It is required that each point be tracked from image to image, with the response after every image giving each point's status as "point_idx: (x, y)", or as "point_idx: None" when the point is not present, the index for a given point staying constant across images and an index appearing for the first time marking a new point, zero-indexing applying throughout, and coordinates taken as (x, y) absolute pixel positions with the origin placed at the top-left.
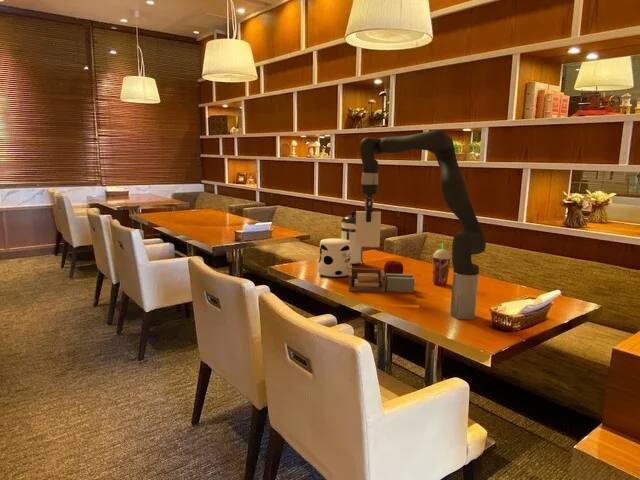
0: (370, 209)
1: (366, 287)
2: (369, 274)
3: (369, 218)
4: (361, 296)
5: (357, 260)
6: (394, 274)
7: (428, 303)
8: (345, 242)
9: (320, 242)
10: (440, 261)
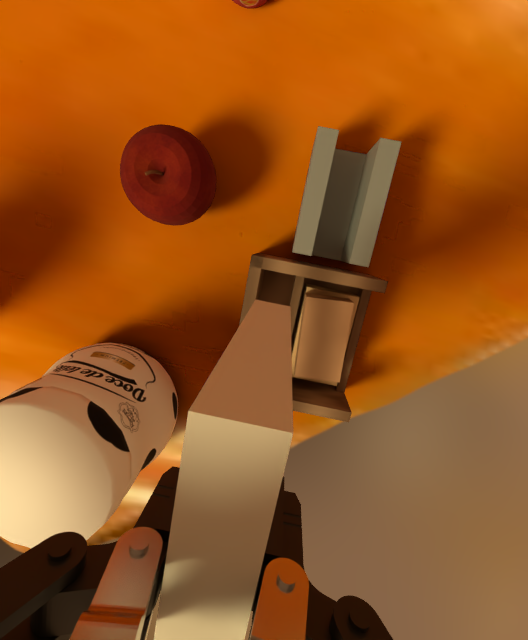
0: (149, 599)
1: (357, 342)
2: (320, 333)
3: (298, 526)
4: (378, 358)
5: None
6: (312, 216)
7: (501, 138)
8: (64, 439)
9: None
10: None
